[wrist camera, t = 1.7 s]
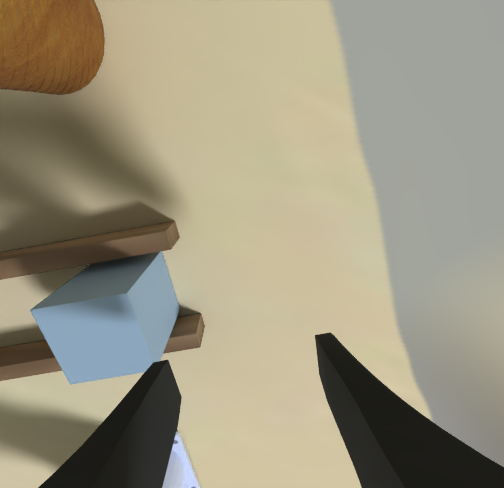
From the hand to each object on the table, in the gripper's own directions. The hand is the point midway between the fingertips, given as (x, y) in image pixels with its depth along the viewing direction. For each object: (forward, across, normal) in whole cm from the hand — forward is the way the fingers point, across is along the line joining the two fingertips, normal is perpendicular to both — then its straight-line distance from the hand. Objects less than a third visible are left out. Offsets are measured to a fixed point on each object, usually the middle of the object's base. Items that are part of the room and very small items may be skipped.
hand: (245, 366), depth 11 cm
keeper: (+9, +8, 0) cm, 12 cm away
